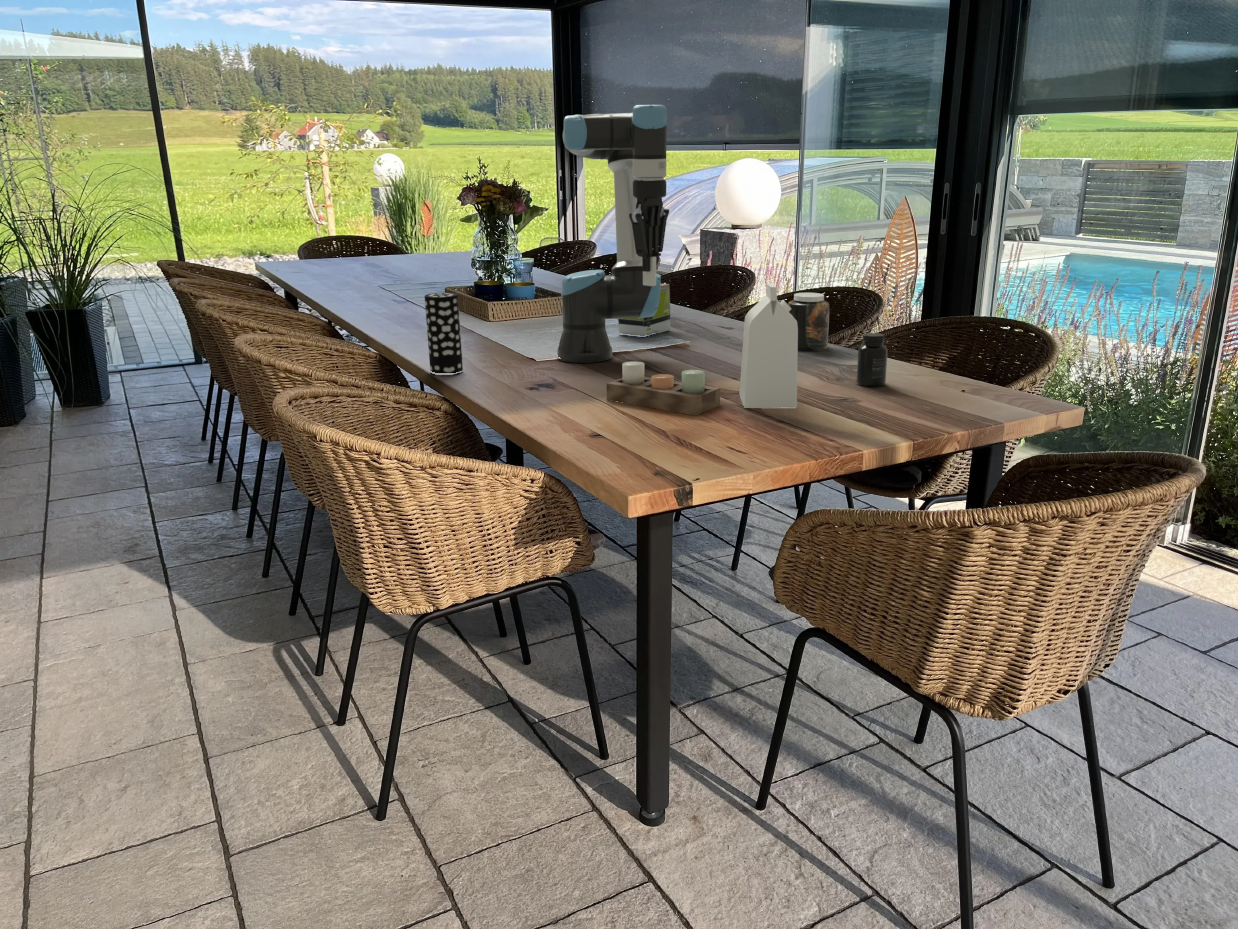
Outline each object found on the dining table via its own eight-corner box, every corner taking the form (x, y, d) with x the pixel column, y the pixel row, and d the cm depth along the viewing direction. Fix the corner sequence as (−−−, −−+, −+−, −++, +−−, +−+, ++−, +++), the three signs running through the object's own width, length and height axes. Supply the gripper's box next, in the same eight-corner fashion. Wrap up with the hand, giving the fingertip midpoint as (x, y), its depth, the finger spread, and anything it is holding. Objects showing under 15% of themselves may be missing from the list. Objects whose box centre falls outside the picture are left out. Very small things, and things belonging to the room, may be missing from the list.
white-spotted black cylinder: (469, 370, 247) (464, 293, 241) (451, 377, 240) (445, 298, 233) (442, 367, 250) (437, 291, 244) (424, 374, 243) (417, 296, 237)
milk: (739, 395, 218) (742, 281, 210) (789, 394, 218) (794, 281, 210) (744, 408, 207) (747, 289, 199) (796, 408, 207) (802, 288, 198)
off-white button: (618, 386, 216) (617, 364, 214) (630, 381, 219) (630, 360, 218) (636, 388, 213) (636, 367, 211) (648, 384, 217) (648, 363, 215)
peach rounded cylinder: (647, 399, 212) (647, 377, 210) (659, 394, 216) (659, 373, 214) (665, 402, 209) (665, 380, 207) (678, 397, 213) (678, 375, 211)
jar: (781, 350, 266) (783, 296, 261) (790, 342, 276) (792, 290, 272) (823, 352, 262) (826, 298, 257) (830, 344, 272) (833, 292, 267)
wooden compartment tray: (606, 400, 215) (606, 383, 214) (632, 391, 223) (631, 374, 222) (696, 415, 202) (696, 397, 201) (720, 405, 210) (720, 387, 208)
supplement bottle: (886, 381, 229) (890, 332, 225) (884, 388, 222) (888, 337, 219) (857, 380, 231) (860, 331, 227) (854, 386, 225) (857, 336, 221)
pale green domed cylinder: (677, 395, 207) (677, 373, 205) (689, 390, 210) (689, 368, 209) (696, 398, 204) (697, 375, 202) (708, 393, 208) (709, 371, 206)
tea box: (644, 327, 302) (644, 281, 298) (671, 330, 297) (671, 283, 292) (617, 335, 291) (616, 287, 286) (644, 338, 285) (644, 289, 280)
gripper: (647, 181, 203) (647, 291, 211) (679, 177, 213) (678, 282, 221) (618, 180, 207) (619, 287, 215) (651, 176, 217) (651, 279, 225)
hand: (649, 285), depth 218 cm, fingers closed
